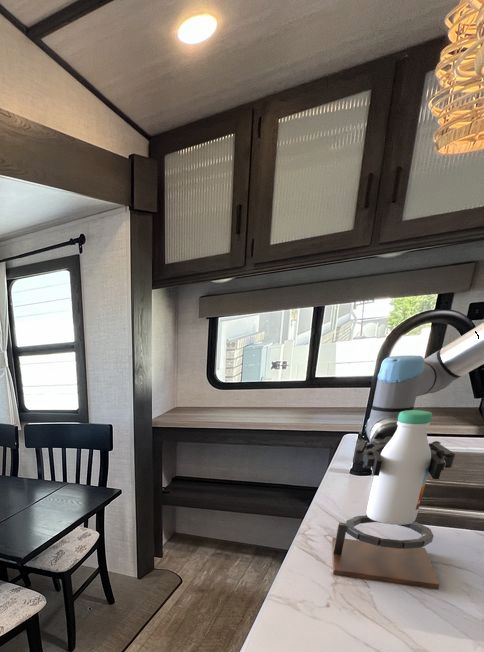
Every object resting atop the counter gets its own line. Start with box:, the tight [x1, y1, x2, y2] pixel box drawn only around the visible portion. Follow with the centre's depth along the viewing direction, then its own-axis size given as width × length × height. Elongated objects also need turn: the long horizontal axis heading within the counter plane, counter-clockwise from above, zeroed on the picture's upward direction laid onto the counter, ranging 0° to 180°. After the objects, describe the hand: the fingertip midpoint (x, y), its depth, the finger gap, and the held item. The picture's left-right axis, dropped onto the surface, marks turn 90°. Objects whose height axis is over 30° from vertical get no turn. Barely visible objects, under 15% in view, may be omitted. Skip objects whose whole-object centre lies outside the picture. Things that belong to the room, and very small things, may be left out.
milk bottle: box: [366, 409, 433, 526], centre depth 85 cm, size 8×8×20 cm
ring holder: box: [331, 514, 441, 590], centre depth 91 cm, size 16×16×8 cm
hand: (407, 469), depth 81 cm, fingers closed on milk bottle, 8 cm apart
